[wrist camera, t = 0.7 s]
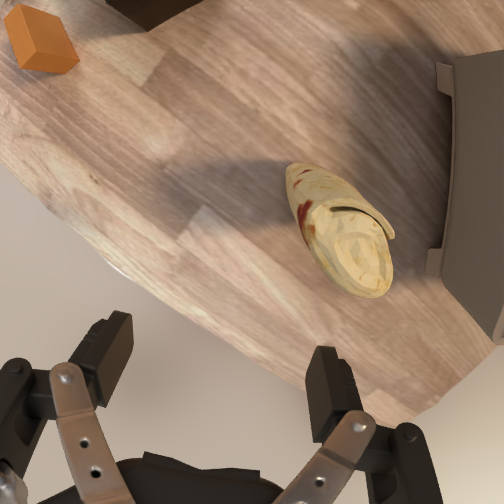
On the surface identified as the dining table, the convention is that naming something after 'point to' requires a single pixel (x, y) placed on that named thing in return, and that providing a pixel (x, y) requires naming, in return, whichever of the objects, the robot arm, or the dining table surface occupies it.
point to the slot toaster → (150, 10)
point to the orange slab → (39, 40)
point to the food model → (341, 230)
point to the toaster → (475, 191)
